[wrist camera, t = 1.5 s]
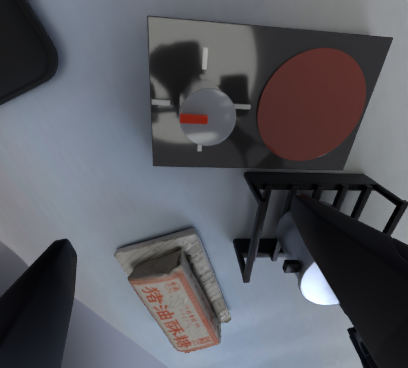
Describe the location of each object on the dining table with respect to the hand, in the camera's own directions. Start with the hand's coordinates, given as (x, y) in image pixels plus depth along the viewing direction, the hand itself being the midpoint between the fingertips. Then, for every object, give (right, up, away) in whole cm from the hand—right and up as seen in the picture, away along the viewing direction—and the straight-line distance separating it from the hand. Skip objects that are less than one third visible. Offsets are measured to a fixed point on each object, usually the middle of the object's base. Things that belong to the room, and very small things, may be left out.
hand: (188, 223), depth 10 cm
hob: (+5, +9, +12) cm, 16 cm away
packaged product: (-3, -12, +23) cm, 26 cm away
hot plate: (+9, +8, +10) cm, 16 cm away
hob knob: (0, +8, +9) cm, 12 cm away
